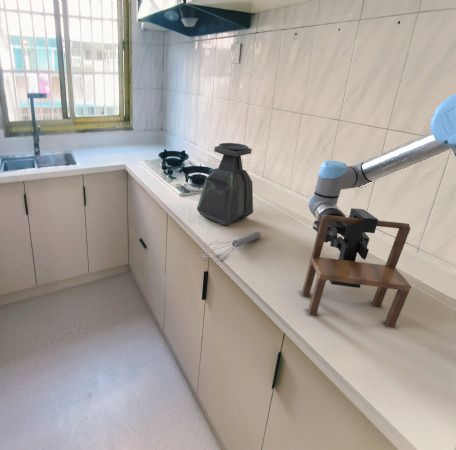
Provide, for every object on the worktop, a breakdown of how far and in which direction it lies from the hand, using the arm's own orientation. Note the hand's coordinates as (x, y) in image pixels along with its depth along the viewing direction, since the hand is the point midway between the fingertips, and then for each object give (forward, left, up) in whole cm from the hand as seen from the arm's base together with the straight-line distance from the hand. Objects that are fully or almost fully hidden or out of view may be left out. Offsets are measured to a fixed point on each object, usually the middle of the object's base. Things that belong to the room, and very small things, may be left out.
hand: (355, 253), depth 85 cm
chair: (-1, +4, -14) cm, 15 cm away
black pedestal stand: (0, -1, -10) cm, 10 cm away
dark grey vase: (+43, -41, -15) cm, 62 cm away
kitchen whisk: (+33, -14, -15) cm, 39 cm away
